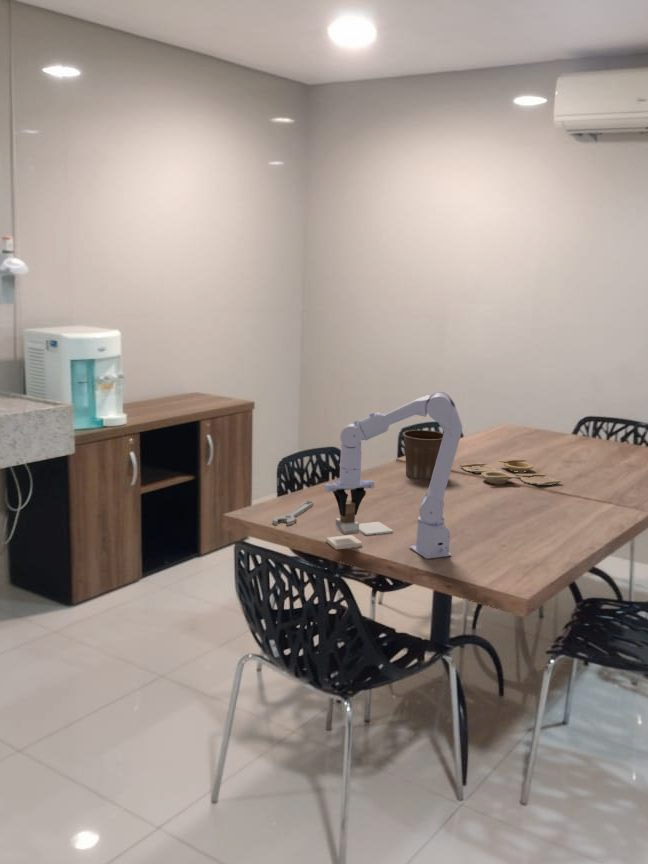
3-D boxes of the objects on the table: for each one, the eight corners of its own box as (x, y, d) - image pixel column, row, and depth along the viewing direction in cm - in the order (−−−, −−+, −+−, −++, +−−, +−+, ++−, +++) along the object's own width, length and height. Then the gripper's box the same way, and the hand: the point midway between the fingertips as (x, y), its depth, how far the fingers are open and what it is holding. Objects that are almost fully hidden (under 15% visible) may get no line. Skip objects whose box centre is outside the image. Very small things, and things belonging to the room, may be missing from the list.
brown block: (358, 533, 233) (360, 504, 232) (344, 535, 232) (345, 505, 230) (349, 527, 239) (350, 498, 237) (335, 528, 237) (336, 499, 235)
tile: (362, 542, 233) (336, 545, 230) (362, 548, 234) (336, 551, 231) (351, 534, 240) (326, 537, 237) (351, 540, 240) (325, 543, 237)
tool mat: (393, 532, 247) (393, 530, 247) (366, 535, 243) (366, 533, 243) (378, 523, 255) (378, 521, 255) (352, 526, 251) (352, 524, 251)
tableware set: (566, 488, 307) (567, 477, 306) (492, 490, 300) (493, 479, 299) (522, 465, 340) (523, 455, 339) (455, 466, 333) (455, 456, 332)
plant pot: (438, 484, 304) (441, 440, 301) (395, 478, 309) (398, 435, 306) (447, 474, 319) (450, 432, 316) (406, 469, 324) (409, 428, 321)
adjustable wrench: (306, 505, 273) (307, 499, 273) (324, 508, 270) (324, 502, 270) (269, 524, 251) (269, 519, 250) (288, 528, 248) (288, 522, 248)
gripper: (366, 462, 238) (364, 508, 240) (320, 465, 232) (318, 512, 234) (378, 468, 232) (376, 515, 234) (331, 471, 225) (329, 520, 228)
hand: (348, 514), depth 234 cm, fingers closed on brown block, 3 cm apart
